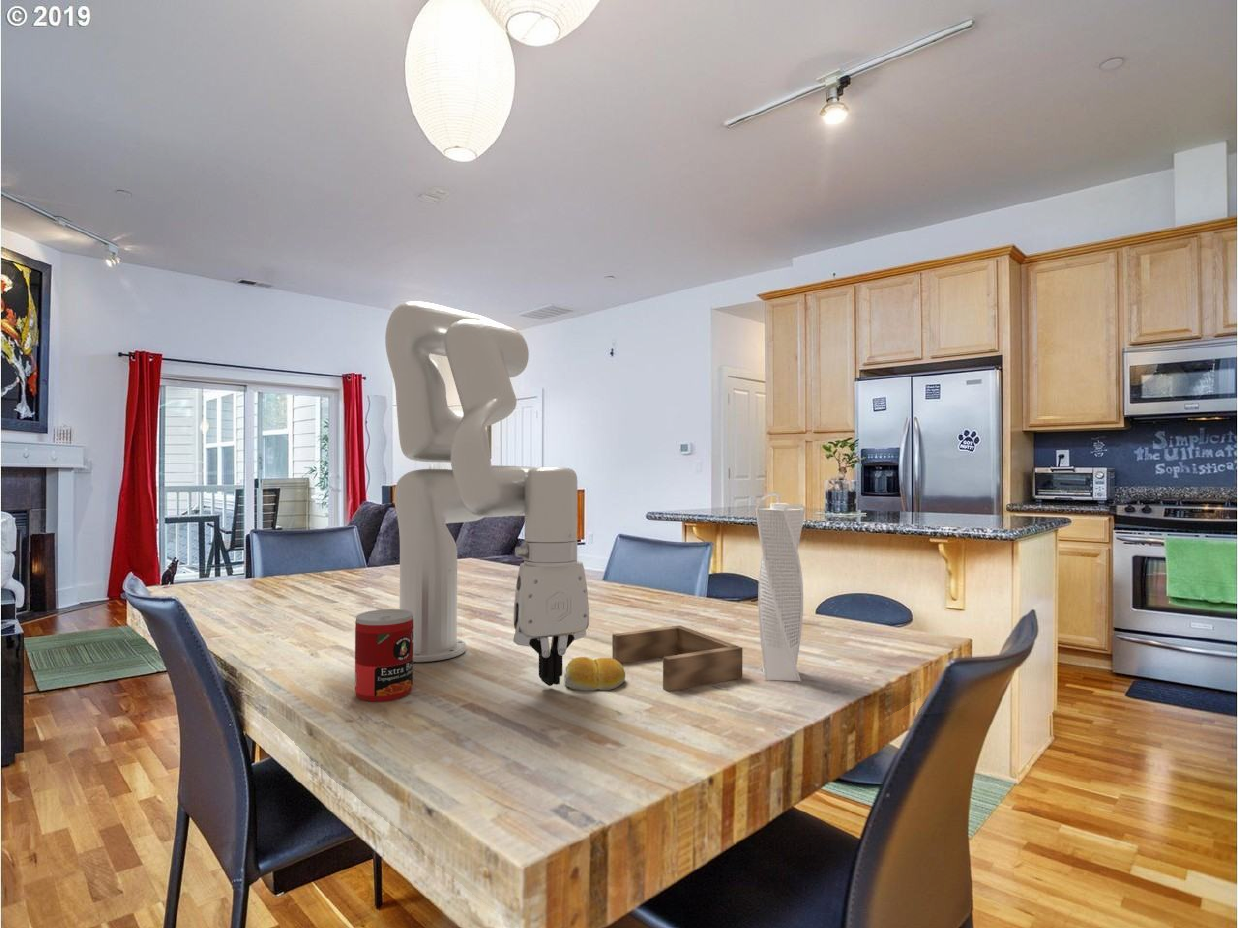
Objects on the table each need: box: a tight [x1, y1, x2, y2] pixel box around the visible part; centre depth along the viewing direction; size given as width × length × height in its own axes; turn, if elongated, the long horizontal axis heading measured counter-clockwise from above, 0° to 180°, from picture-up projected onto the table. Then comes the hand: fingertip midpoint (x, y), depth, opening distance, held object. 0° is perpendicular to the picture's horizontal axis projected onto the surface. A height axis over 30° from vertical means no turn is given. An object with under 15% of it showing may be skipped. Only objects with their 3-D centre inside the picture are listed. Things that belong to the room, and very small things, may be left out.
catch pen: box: [611, 625, 743, 692], centre depth 102 cm, size 13×17×4 cm
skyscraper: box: [754, 492, 806, 682], centre depth 100 cm, size 8×8×28 cm
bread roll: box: [563, 656, 626, 692], centre depth 96 cm, size 8×9×4 cm
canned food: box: [354, 608, 414, 703], centre depth 91 cm, size 8×8×11 cm
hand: (550, 682), depth 92 cm, fingers closed
